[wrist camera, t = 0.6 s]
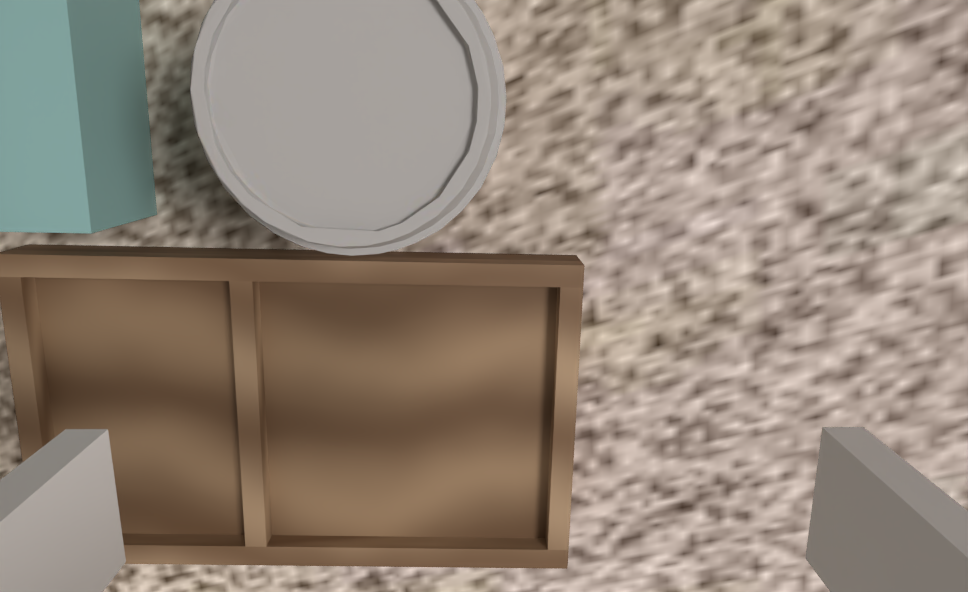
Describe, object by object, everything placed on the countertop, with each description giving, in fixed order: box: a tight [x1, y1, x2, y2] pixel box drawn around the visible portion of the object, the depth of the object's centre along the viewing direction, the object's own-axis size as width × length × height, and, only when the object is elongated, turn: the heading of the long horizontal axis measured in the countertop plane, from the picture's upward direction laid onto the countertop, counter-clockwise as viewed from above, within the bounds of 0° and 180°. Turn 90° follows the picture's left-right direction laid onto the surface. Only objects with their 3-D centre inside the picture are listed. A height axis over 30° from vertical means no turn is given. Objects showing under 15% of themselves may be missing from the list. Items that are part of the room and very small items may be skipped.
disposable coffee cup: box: [190, 0, 506, 256], centre depth 26 cm, size 10×10×12 cm
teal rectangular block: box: [0, 0, 157, 233], centre depth 29 cm, size 10×4×6 cm, turn 179°
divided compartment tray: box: [0, 245, 584, 568], centre depth 34 cm, size 15×26×2 cm, turn 89°
